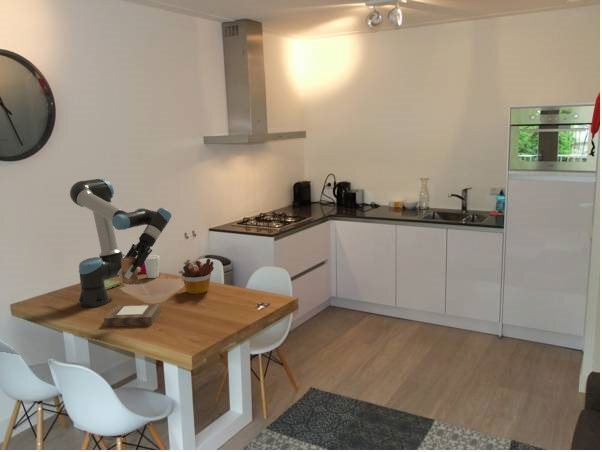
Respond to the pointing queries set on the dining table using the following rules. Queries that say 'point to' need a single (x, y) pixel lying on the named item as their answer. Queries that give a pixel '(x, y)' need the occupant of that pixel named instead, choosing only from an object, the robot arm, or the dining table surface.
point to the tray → (132, 315)
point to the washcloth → (111, 283)
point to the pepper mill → (143, 268)
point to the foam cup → (152, 266)
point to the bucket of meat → (197, 276)
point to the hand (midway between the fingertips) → (123, 276)
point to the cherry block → (126, 265)
